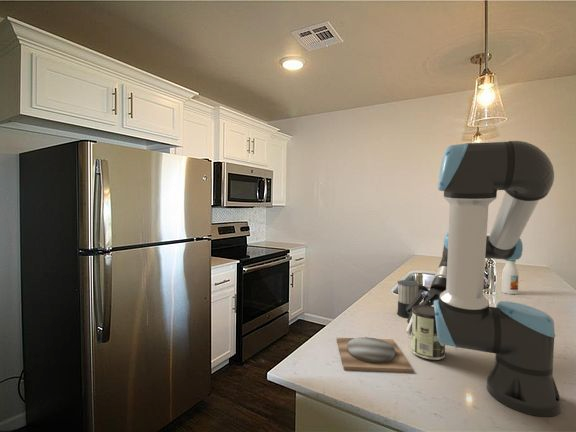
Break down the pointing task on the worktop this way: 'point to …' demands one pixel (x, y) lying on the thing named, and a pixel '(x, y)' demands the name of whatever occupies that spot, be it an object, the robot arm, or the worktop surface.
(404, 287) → the milk frother
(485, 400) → the worktop surface
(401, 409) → the worktop surface
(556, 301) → the worktop surface
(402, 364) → the mount board
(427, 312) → the coffee can
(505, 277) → the milk bottle
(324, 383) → the worktop surface
